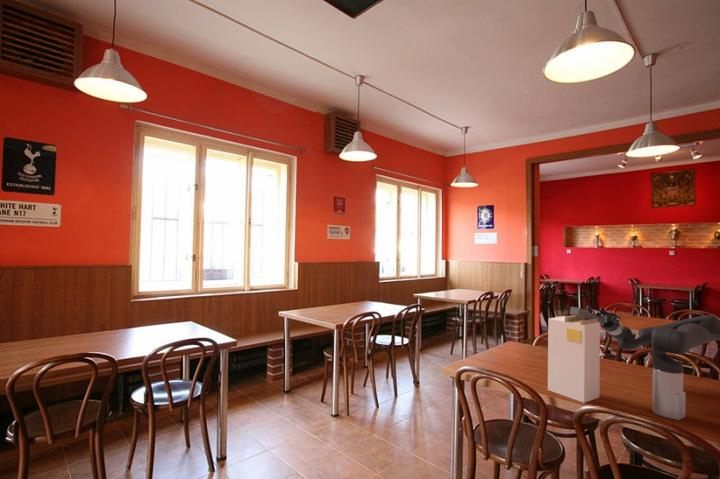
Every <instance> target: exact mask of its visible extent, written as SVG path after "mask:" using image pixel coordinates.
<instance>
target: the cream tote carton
mask: <svg viewBox="0 0 720 479" xmlns="http://www.w3.org/2000/svg"><path fill="white" fill-rule="evenodd" d="M547 324H548V326H547V327H548V328H547V331H548V332H547V335H548V336H547V391H550V392H552V393H556V394H558V395H561V396H564V397H567V398H568V399H569V398H570V399H573V400H575V401H578V402H580V403H583V404H585V403H587V402H590V401H593V400H595V399H598V398H600V385H601V384H600V383H601V382H600V378H601V377H600V376H601V375H600V373H601V371H600V366H601V362H600V361H601V359H600V358H601V357H600V353H601V352H600V351H601V326H600V323H599V322H598V319H590V320H584V319H582V318H579V317H577V316H574V315H569V316H565V315H562V316H556V317H549V318H548V323H547Z"/></svg>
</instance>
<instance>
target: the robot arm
mask: <svg viewBox="0 0 720 479" xmlns="http://www.w3.org/2000/svg"><path fill="white" fill-rule="evenodd" d="M585 311H587V312H589V313H592V314H594V315H596V316H598V317H601V318H603V319H604V320H605V322H604V326H601V325H600V328H602V329H603V330H604V331H605V332H606V333H607V334H609V335H610V336H611V337H613V338H614V339H616V340H617V343H618V345H619V347H620V348H621V349H622V350H626V351H630V350H634V349H636V348H638V347H641V346H645V345H647V344H651V361H652V406H651V407H652V412H653V413H654V414H655V415H658V416H660V417H663V418H668V419H673V420H676V421H680V420H682V419H684V418H686V391H684V366H683V364H682V363H681V362H679V361H677V360H675V359H673V358H672V357H670V356H669V355H668V354H667V353H669V354H674V355H684V354H686V353H687V352H689V351H690V350H691V349H693V348H696V347H699V346H702V345H704V344H706V343H711V342H716V341H720V321H719V319H718V317H717V316H716V315H712V314H710V315H709V314H708V315H700V316H695V317H689V318H686V319H681V320H678V321H674V322H670V323H666V324H662V325H655V326H651V327H650V326H649V327H642V328H639V329H638V337H637V338H635V336H634V333H633V332H632V330H631V328H629V327H627V326H625V325H623V324H622V323H621V321H620V320H621V319H622V318H621V317H620V316H619V315H617V314H616V313H614V312H612V311H610V312H609V311H608V310H605V308H603V307H599V310H596V309H595V310H594V309H593V307H591V306H590V305H586V307H585Z"/></svg>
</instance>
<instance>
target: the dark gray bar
mask: <svg viewBox="0 0 720 479" xmlns="http://www.w3.org/2000/svg"><path fill="white" fill-rule="evenodd" d="M569 314H570V315H571V316H577V317H579V318H582V319H583V320H590V319H598V322H599V323H600V325H601V326H604V322H605V320H604V319H603V318H601V317H598V316H596V315H594V314H593V312H592V313H589V312H587V311H586V309H582V308H580V307H575V306H570V309H569ZM601 326H600V327H601Z"/></svg>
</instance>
